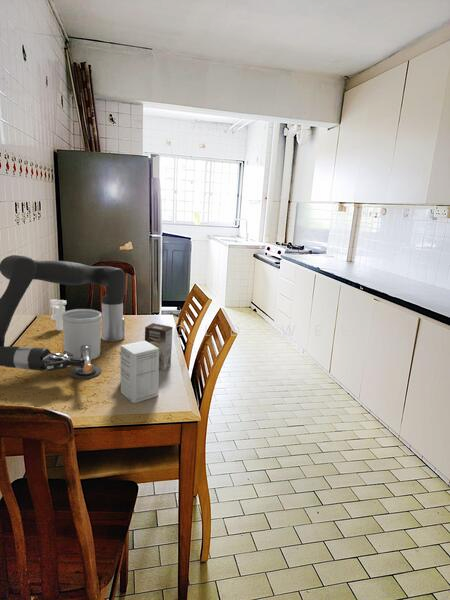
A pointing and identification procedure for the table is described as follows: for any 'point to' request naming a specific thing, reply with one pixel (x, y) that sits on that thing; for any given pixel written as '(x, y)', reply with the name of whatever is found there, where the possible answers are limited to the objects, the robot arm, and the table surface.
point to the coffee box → (160, 342)
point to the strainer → (58, 312)
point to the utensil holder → (82, 331)
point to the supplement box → (139, 371)
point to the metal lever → (85, 362)
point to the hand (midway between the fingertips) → (82, 362)
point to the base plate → (73, 374)
